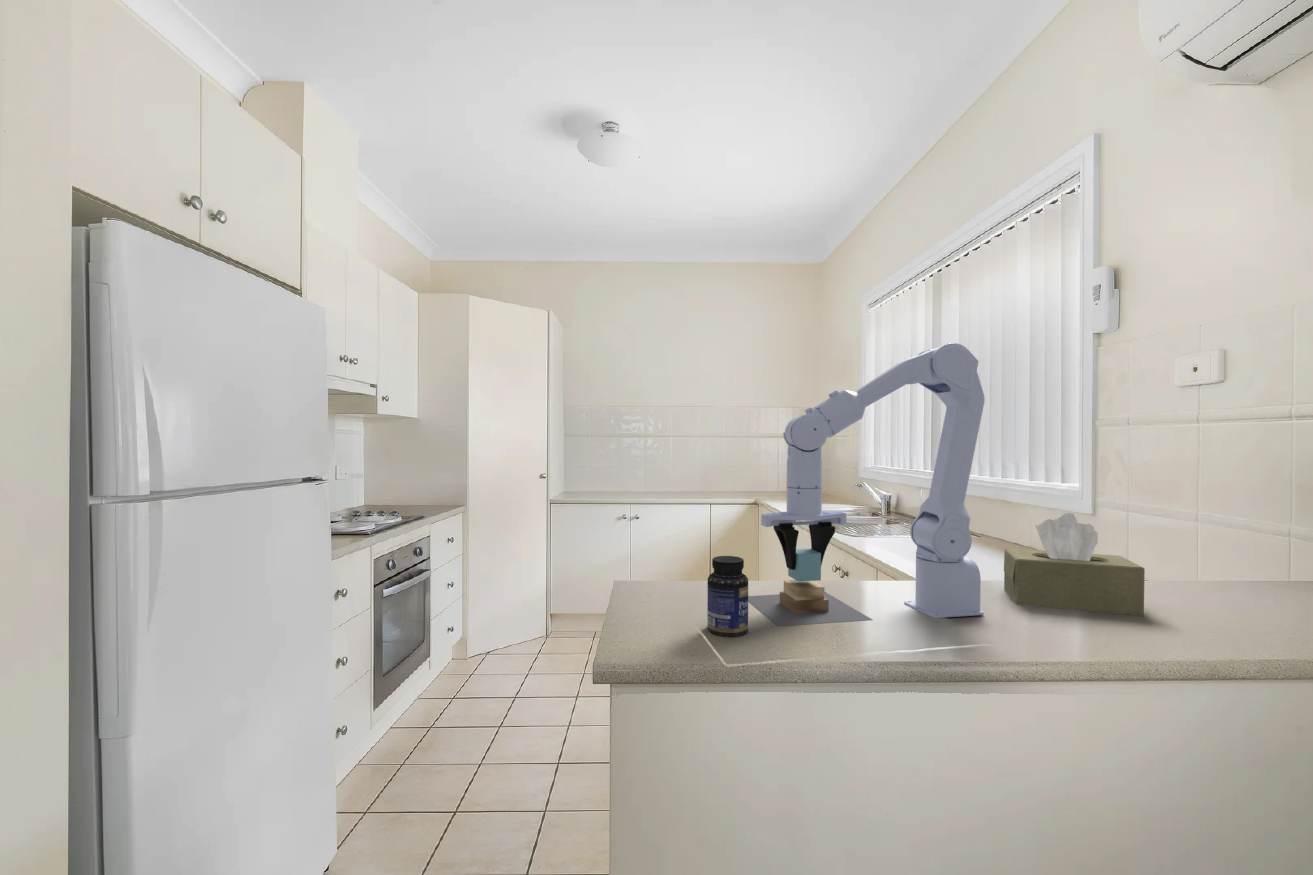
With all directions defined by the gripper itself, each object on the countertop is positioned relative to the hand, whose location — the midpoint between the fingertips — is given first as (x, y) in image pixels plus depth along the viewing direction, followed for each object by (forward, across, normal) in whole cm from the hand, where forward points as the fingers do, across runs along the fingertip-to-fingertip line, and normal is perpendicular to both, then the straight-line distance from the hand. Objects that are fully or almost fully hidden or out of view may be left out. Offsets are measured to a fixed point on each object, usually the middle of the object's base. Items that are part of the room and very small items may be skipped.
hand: (803, 567), depth 98 cm
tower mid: (+5, 0, 0) cm, 5 cm away
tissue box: (+7, -48, +5) cm, 49 cm away
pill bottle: (+7, +16, +8) cm, 19 cm away
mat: (+7, 0, 0) cm, 7 cm away
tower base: (+7, 0, 0) cm, 7 cm away
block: (+2, 0, 0) cm, 2 cm away
